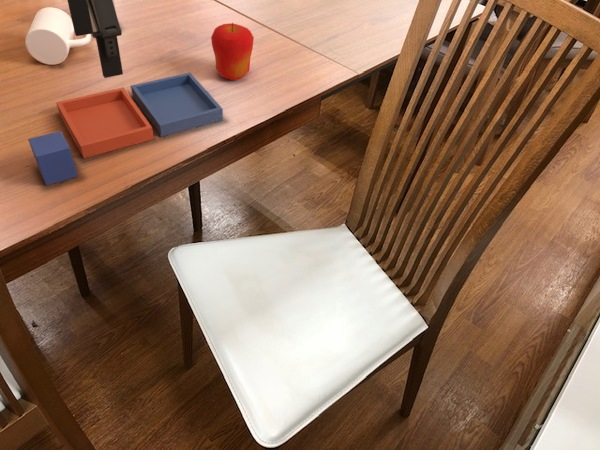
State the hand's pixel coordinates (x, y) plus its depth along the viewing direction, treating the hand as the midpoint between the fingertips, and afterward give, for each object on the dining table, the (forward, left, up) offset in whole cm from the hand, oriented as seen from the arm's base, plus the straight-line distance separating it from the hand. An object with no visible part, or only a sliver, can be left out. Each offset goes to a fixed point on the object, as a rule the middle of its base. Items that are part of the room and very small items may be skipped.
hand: (98, 53), depth 78 cm
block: (+3, -11, -17) cm, 21 cm away
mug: (-35, +1, -17) cm, 39 cm away
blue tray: (-6, +14, -17) cm, 23 cm away
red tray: (-6, 0, -17) cm, 18 cm away
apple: (-13, +30, -17) cm, 37 cm away
